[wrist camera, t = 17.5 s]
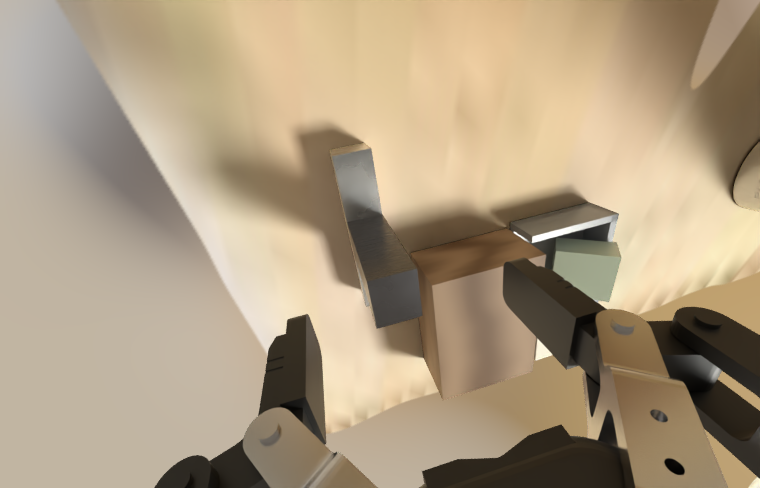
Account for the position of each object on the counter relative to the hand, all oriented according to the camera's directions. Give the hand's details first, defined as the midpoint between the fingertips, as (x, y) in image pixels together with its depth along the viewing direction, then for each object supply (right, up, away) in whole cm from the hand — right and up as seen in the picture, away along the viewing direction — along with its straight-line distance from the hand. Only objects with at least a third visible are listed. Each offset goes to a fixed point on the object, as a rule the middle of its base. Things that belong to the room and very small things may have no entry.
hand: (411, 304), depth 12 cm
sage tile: (+16, 0, +14) cm, 21 cm away
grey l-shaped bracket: (-3, +4, +12) cm, 13 cm away
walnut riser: (+7, -3, +17) cm, 19 cm away
